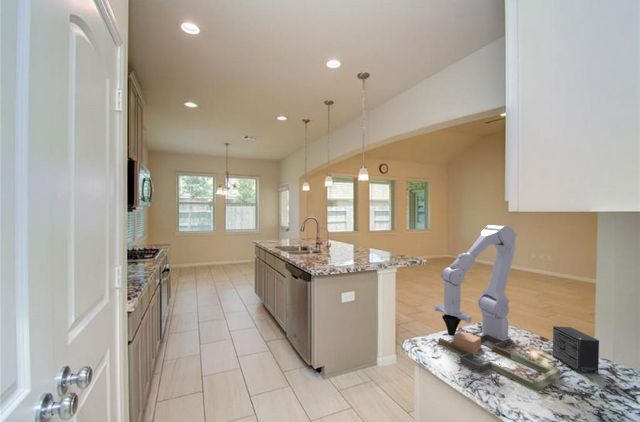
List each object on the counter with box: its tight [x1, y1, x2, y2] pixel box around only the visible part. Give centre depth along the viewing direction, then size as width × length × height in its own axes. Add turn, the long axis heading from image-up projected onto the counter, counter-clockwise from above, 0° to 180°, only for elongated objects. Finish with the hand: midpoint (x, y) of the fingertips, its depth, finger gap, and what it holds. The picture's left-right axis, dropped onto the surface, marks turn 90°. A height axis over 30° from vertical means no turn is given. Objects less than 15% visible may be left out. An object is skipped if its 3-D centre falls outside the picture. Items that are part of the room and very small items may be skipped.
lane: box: [438, 337, 561, 392], centre depth 95 cm, size 13×32×2 cm, turn 29°
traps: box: [459, 334, 505, 374], centre depth 98 cm, size 25×13×2 cm, turn 119°
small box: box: [552, 325, 600, 374], centre depth 92 cm, size 11×6×10 cm, turn 179°
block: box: [453, 330, 482, 353], centre depth 103 cm, size 6×7×4 cm
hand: (451, 334), depth 109 cm, fingers closed
